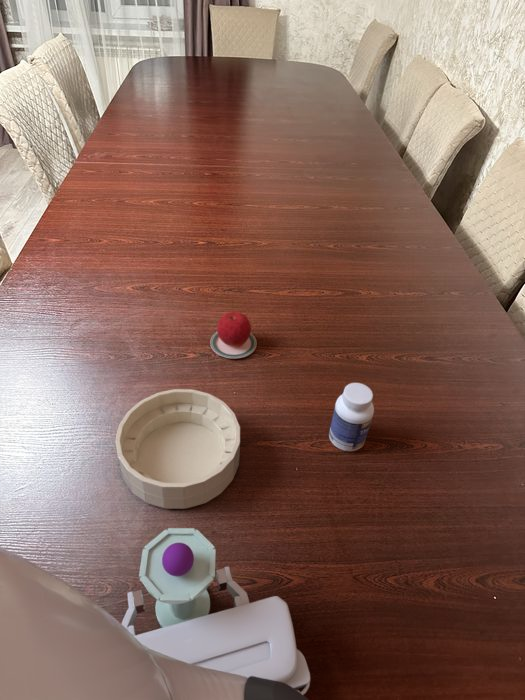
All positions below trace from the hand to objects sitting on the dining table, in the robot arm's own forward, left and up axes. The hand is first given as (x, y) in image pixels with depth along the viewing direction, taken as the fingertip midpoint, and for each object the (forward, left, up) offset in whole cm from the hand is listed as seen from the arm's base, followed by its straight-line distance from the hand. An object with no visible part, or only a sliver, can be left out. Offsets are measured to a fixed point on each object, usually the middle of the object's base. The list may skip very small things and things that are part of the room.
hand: (179, 581), depth 55 cm
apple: (+5, +43, -5) cm, 44 cm away
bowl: (-2, +19, -5) cm, 20 cm away
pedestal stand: (0, -1, -5) cm, 5 cm away
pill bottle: (+22, +23, -5) cm, 33 cm away
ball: (0, -1, +7) cm, 7 cm away
